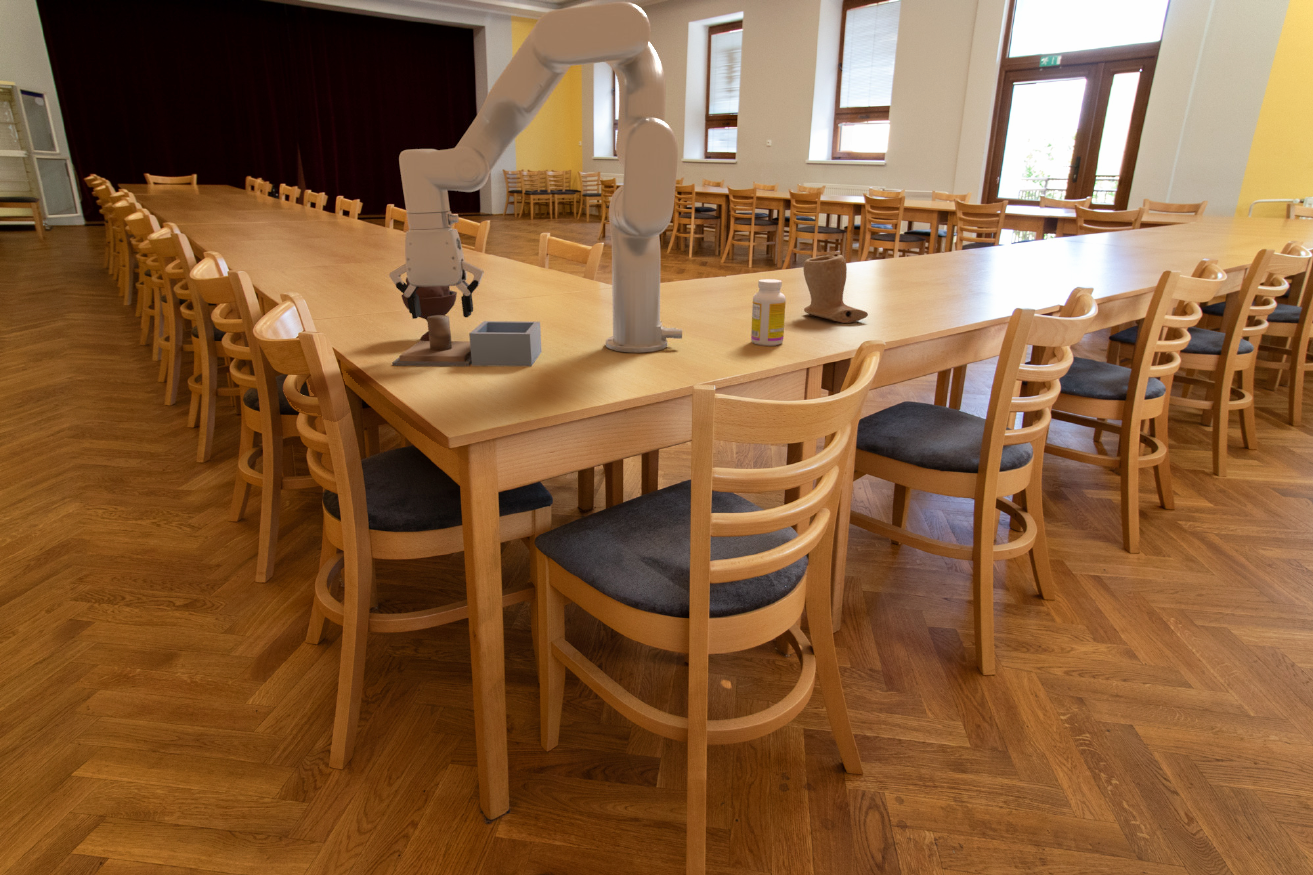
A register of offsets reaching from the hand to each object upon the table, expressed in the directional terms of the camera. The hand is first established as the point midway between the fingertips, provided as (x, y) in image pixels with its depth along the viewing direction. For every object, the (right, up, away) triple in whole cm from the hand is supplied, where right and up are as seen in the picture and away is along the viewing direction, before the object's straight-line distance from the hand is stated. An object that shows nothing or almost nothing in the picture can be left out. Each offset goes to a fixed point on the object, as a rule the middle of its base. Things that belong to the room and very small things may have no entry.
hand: (442, 316), depth 140 cm
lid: (-1, -7, +2) cm, 7 cm away
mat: (-1, -7, +2) cm, 8 cm away
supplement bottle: (+63, -3, +15) cm, 65 cm away
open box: (+12, -8, +1) cm, 14 cm away
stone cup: (+82, +6, +39) cm, 91 cm away
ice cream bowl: (-7, -2, +17) cm, 18 cm away
